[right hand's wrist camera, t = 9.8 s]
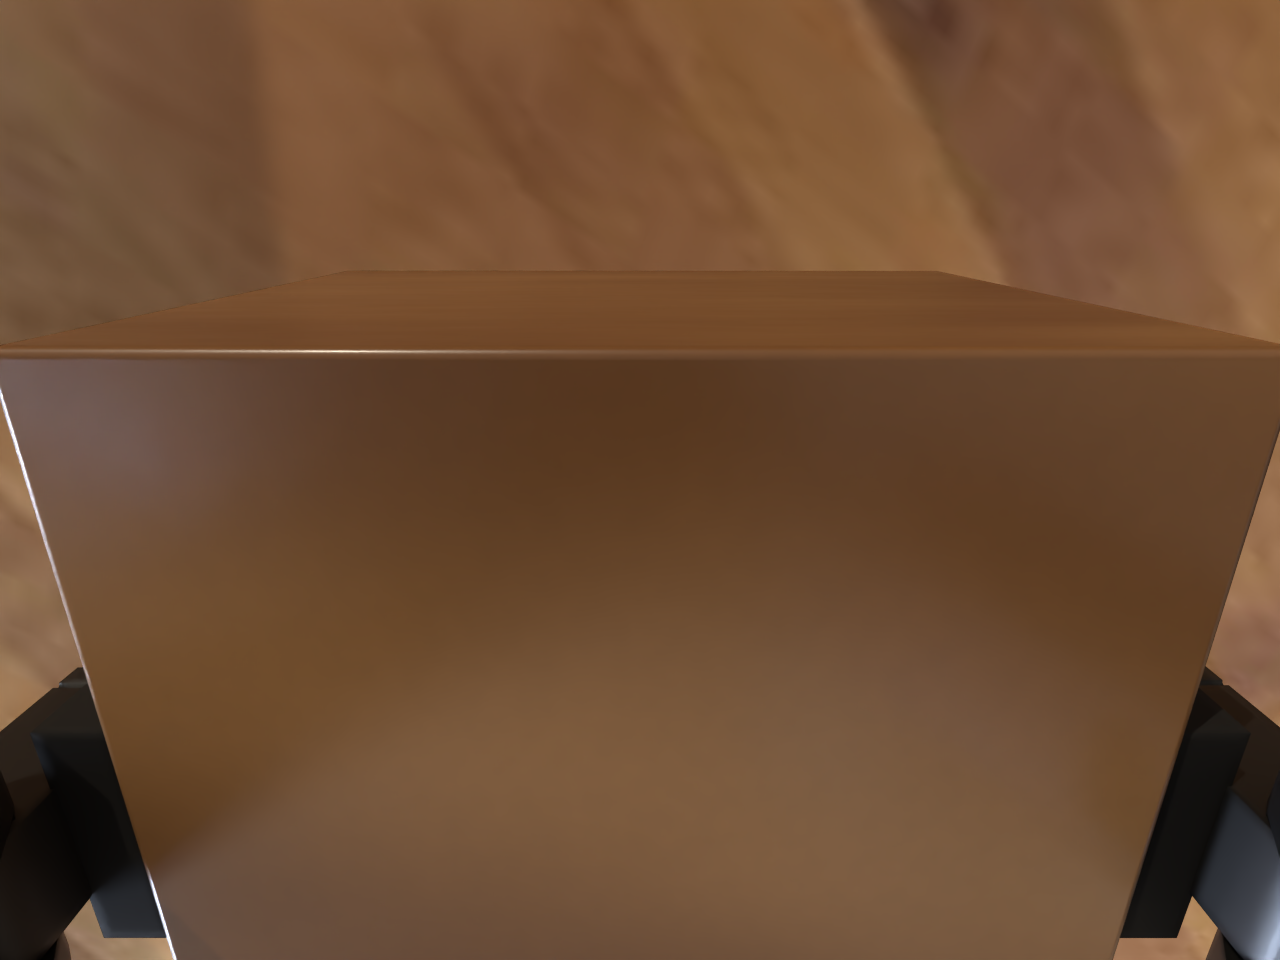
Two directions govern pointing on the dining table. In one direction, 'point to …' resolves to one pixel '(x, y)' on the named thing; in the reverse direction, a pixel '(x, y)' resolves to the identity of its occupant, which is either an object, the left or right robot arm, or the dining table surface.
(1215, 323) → the dining table surface
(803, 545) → the wide beam
